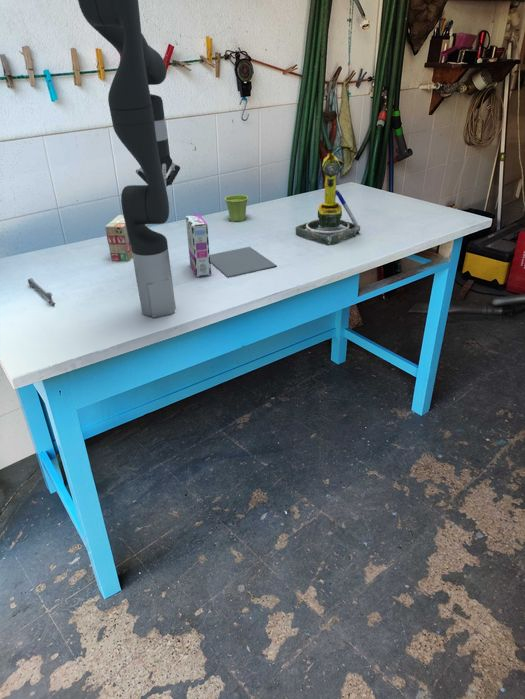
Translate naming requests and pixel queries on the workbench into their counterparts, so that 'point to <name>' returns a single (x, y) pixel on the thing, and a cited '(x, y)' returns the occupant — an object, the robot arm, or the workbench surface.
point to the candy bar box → (198, 245)
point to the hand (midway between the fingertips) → (162, 200)
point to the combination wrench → (41, 290)
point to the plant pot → (237, 207)
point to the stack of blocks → (118, 240)
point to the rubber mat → (240, 262)
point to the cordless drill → (330, 210)
